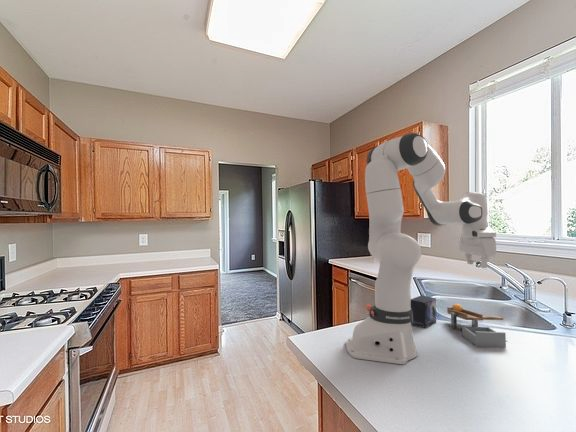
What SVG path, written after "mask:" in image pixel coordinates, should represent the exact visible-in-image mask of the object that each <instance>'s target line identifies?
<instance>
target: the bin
mask: <svg viewBox="0 0 576 432" xmlns="http://www.w3.org/2000/svg"><path fill="white" fill-rule="evenodd" d="M461 331H462V337H463V338H465V339H466V340H467V341H469V343H471V344H472V345H473V346H475V347H476V348H495V349H497V348H498V349H506V348H507V338H506V337H507V336H506V332H504V331H496V330H494V329H493V328H491V327H489V326H478V327H466V326H462V330H461Z"/></svg>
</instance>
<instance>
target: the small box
mask: <svg viewBox="0 0 576 432" xmlns="http://www.w3.org/2000/svg"><path fill="white" fill-rule="evenodd" d="M411 309H412V313H413V326H416V327H419V328H423V329H426V328H428V327H430V326H433V325H435V324H437V298H436V297H431V296H427V295H423V294H422V295H419V296H416V297H413V298H411Z"/></svg>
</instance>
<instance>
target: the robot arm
mask: <svg viewBox="0 0 576 432" xmlns="http://www.w3.org/2000/svg"><path fill="white" fill-rule="evenodd" d="M405 169H407V171H408V172H409V174H410V175H411V177H412V178H413V181H412V185H413V186H412V187H413V189H414V192H415V194H416V196H417V198H418V199H419V200H420V202H421V205H422V206H423V208H424V210H425V211H426V214H427V217H428V220H429V222H431V223H432V224H433V225H435V226H437V227H438V226H447V225H448V226H449V225H450V226H451V225H453V226H454V225H455V226H457V225H461V226H462V227H461V228H462V233H461V236H460V237H459V243H458V244H459V245H458V246H459V251H460V253H463V254H464V257H465V258H466V263H467V265H474V259H473V258H472V256H473V255H474V256H477V257H480V260H481V261H480V262H479V267H480V268H482V269H487V267H488V261H489V259H490V258H495V257H496V255H497V241H496V238H497V232H496V231H494V230H493V229H491V228H490V227H489V223H488V219H487V218H488V217H487V216H488V214H489V213H488V203H487V199H486V196H485V194H484V193H482V192H478V191H472V192H471V191H470V192H469V191H468V192H465V193H463V195H462V197H461V198H459V199H457V200H454V201H450V200H449V201H442V200H439V199H437V197H436V194H435V192H434V191H433V190H432V189H433V188H434V187H436V186H437V185H438V184H439V183H440V182H441V181H442V180H443V179H444V177H445V175H446V166H445V163H444V161H443V160H442V159H441V157H440V155H438V153H437V152H436V151H435V150H434V149H433V147H432V146H430V145H429V143H428V141H427V140H426V138H425V137H424V136H422V135H421V134H419V133H417V132H411V133H406V134H404V135H402V136H398V137H395V138H392V139H388V140H387V141H384V142H382V143H381V144H379V145H376V146H373V148H371V149H370V150H369V152H368V153H367V155H366V167H365V171H364V185H365V186H364V187H365V196H366V201H367V210H368V217H369V218H368V219H369V224H368V225H369V228H368V235H369V236H368V243H367V248H368V252H369V254H370V255H371V256H372V257H373V259H374V260H376V261H378V262H379V269H378V273H377V277H376V280H375V282H374V299H375V300H374V302H375V303H374V305H371V304H370V303H369V304H368V303H367V305H366V306H365V309H366V311H367V312H368V317H366V318H365V319H364V320H362V321H361V322H359V323H358V324H356V325H355V326H354V329H353V331H352V337H349V338H347V339H346V340H345V349H346V351H347V353H348V354H349V355H350V357H352V358H354V359H359V360H365V361H375V362H381V363H388V364H389V363H391V364H395V365H396V364H397V365H406V364H407V363H408V361H410V360H412V359H413V360H414V359H415V358H416V357H417V356H418V351H417V348H416V345H415V341H414V334H413V326H414V325H413V313H412V309H411V299H412V297H411V294H412V293H411V291H412V290H411V288H412V286H411V285H412V278H413V274H414V271H415V267H416V265H417V264H418V263H419V261H420V259H421V256H422V249H421V248H422V247H421V245H420V244H419V242H418V241H417V240H416V239H415V238H413V237H412V236H410V235H409V234H406V233H402V232H401V231H402V230H401V228H402V220H403V216H404V213H405V212H404V211H405V209H404V203H403V201H404V200H403V196H402V195H403V194H402V189H401V182H400V178H399V175H398V172H399V171H402V170H405Z"/></svg>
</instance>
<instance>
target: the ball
mask: <svg viewBox="0 0 576 432" xmlns="http://www.w3.org/2000/svg"><path fill="white" fill-rule="evenodd" d="M451 308H453V310H455V311H458V312H461V311H462V308H463V307H462V305H461V304H460V303H454V304H452V307H451Z"/></svg>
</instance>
